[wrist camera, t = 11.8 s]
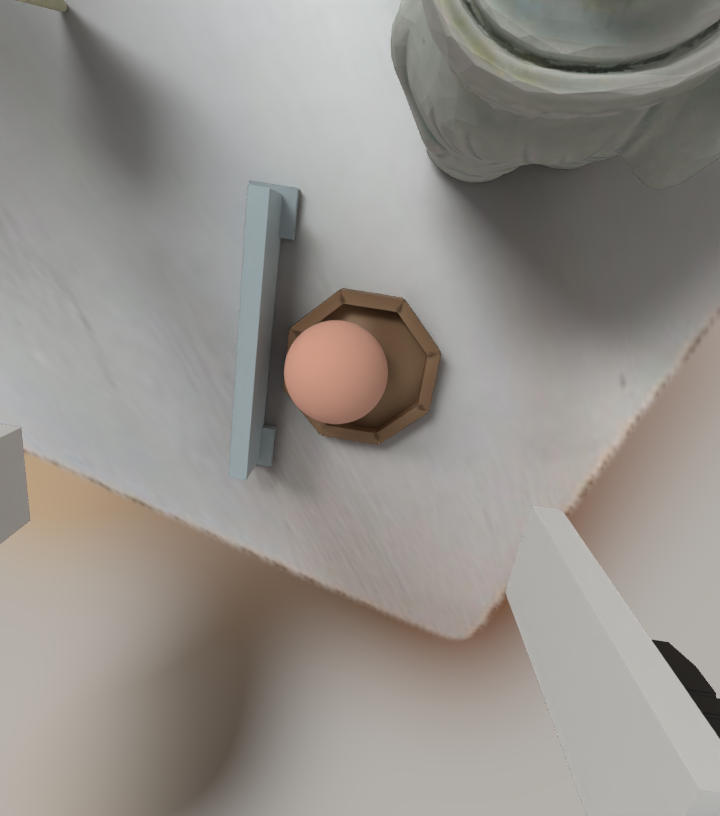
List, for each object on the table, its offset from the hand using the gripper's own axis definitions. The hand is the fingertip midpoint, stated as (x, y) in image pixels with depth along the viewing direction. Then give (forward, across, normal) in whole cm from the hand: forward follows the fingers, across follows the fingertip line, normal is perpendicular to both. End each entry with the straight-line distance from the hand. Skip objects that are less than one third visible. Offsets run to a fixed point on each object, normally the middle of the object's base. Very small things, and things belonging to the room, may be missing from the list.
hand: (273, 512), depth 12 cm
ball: (+20, +2, -1) cm, 21 cm away
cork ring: (+21, +2, -1) cm, 21 cm away
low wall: (+21, -5, 0) cm, 22 cm away
